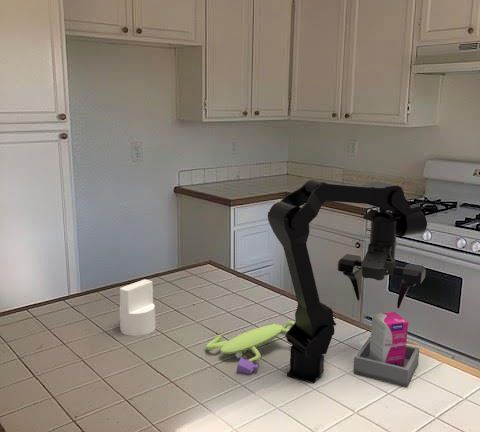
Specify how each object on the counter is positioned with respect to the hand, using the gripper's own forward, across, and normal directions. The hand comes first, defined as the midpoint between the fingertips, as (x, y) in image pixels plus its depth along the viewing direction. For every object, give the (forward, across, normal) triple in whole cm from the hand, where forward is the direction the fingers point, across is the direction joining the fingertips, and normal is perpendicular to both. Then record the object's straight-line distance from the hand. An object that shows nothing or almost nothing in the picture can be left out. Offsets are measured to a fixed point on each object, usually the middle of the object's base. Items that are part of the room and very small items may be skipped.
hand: (378, 303), depth 125 cm
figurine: (+14, -23, -11) cm, 29 cm away
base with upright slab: (+13, -58, -16) cm, 62 cm away
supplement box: (+12, +4, -5) cm, 14 cm away
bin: (+13, +4, -5) cm, 14 cm away
